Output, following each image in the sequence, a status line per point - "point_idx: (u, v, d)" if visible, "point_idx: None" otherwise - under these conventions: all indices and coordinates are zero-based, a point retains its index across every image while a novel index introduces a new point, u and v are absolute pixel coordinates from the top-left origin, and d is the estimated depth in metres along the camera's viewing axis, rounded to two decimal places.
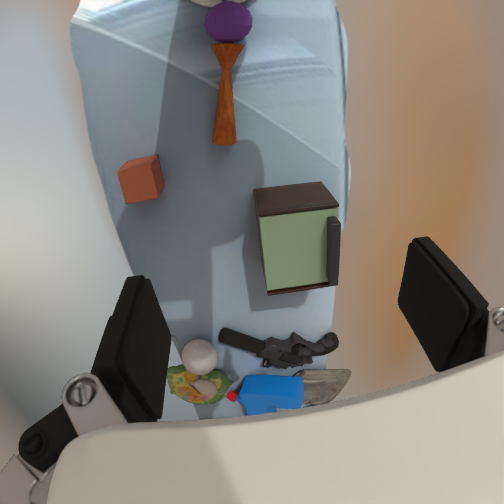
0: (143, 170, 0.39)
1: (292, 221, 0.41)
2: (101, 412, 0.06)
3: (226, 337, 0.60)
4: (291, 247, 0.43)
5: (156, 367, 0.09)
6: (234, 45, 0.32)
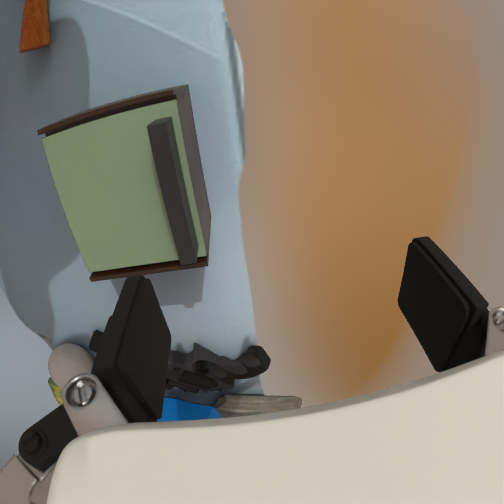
0: None
1: (92, 137, 0.19)
2: (101, 412, 0.06)
3: (94, 344, 0.37)
4: (101, 189, 0.21)
5: (156, 367, 0.09)
6: None
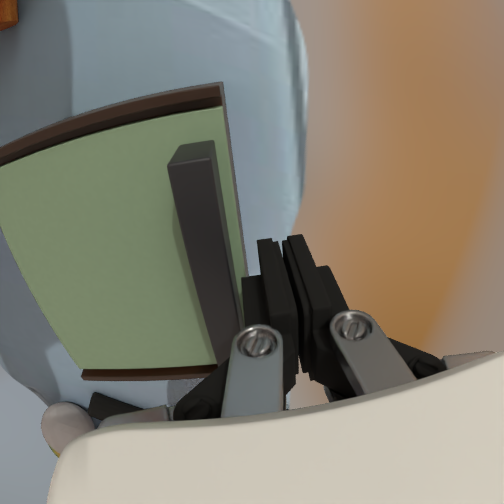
0: None
1: (60, 175, 0.10)
2: (264, 373, 0.06)
3: (94, 411, 0.28)
4: (85, 265, 0.12)
5: None
6: None
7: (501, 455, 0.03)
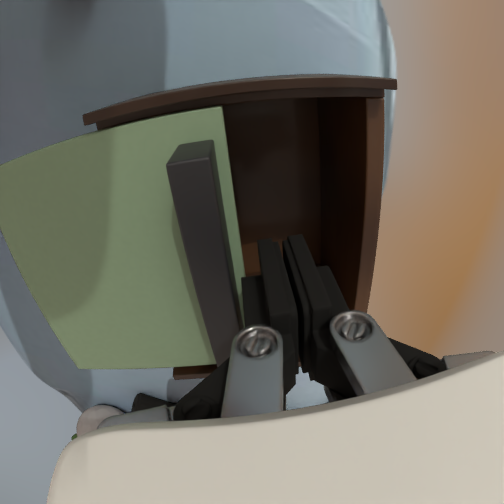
0: None
1: (59, 175, 0.10)
2: (264, 373, 0.06)
3: None
4: (84, 264, 0.12)
5: None
6: None
7: (501, 455, 0.03)
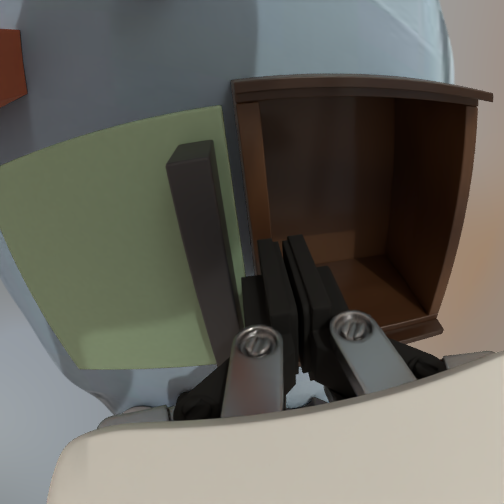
0: None
1: (59, 175, 0.10)
2: (264, 373, 0.06)
3: None
4: (84, 265, 0.12)
5: None
6: None
7: (501, 455, 0.03)
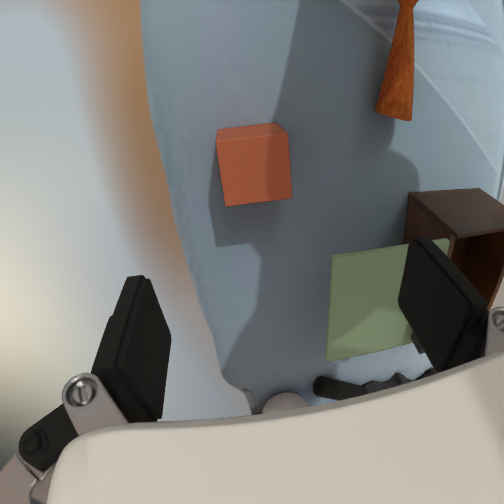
0: (272, 144, 0.21)
1: (384, 263, 0.23)
2: (101, 412, 0.06)
3: (327, 390, 0.41)
4: (374, 303, 0.25)
5: (156, 367, 0.09)
6: None
7: (501, 455, 0.03)
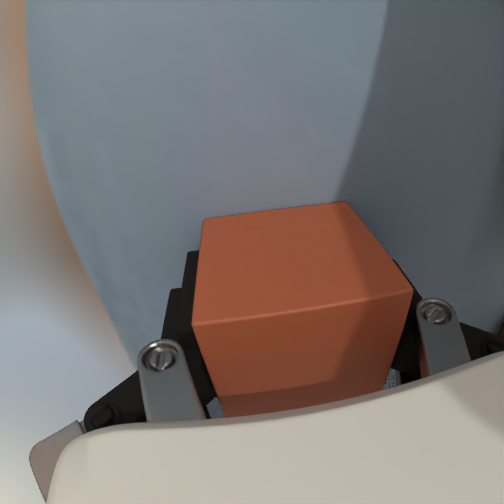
0: (366, 321, 0.07)
1: None
2: (174, 383, 0.06)
3: None
4: None
5: None
6: None
7: (501, 455, 0.03)
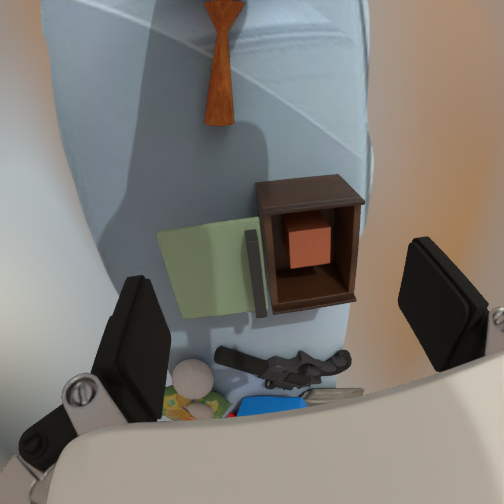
0: (321, 233, 0.36)
1: (198, 237, 0.32)
2: (101, 412, 0.06)
3: (223, 358, 0.51)
4: (202, 269, 0.34)
5: (156, 367, 0.09)
6: (232, 1, 0.23)
7: (501, 455, 0.03)
